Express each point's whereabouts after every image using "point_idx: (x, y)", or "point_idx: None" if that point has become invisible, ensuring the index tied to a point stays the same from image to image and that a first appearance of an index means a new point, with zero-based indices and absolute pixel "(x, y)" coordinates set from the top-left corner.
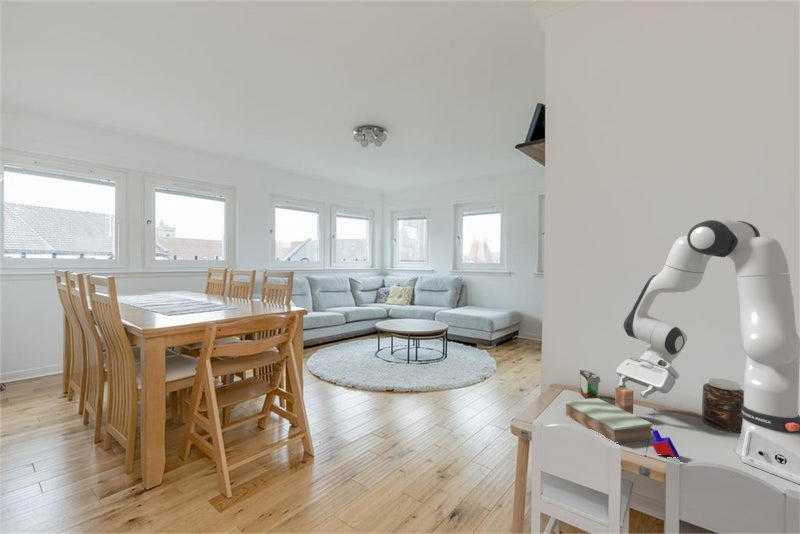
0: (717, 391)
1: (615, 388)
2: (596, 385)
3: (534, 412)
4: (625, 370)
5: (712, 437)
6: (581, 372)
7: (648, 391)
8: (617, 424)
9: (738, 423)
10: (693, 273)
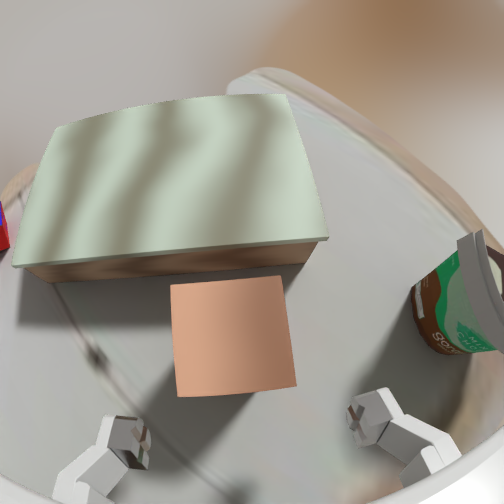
0: None
1: (279, 277)
2: (467, 313)
3: (301, 86)
4: (484, 495)
5: (38, 490)
6: None
7: (84, 459)
8: (62, 143)
9: None
10: None
